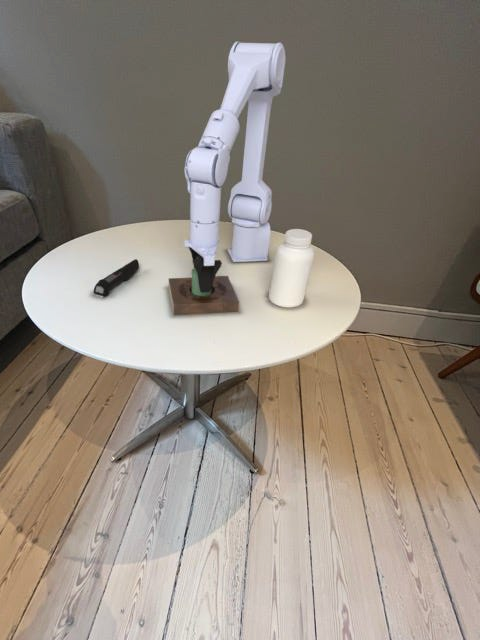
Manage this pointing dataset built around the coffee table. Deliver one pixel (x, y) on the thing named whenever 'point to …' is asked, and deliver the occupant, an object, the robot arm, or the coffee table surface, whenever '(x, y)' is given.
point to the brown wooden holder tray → (202, 297)
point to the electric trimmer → (115, 278)
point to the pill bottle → (291, 269)
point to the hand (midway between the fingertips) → (202, 282)
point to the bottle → (195, 282)
